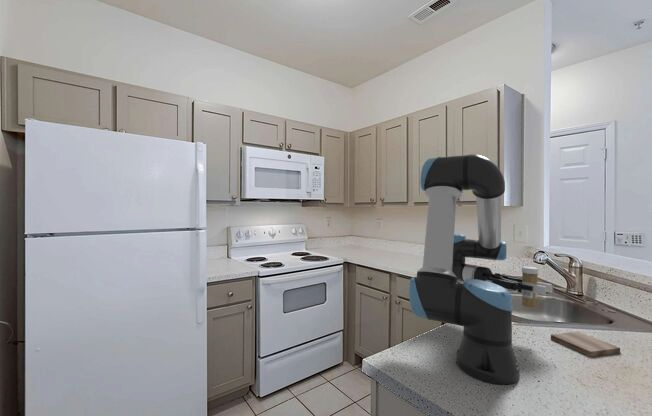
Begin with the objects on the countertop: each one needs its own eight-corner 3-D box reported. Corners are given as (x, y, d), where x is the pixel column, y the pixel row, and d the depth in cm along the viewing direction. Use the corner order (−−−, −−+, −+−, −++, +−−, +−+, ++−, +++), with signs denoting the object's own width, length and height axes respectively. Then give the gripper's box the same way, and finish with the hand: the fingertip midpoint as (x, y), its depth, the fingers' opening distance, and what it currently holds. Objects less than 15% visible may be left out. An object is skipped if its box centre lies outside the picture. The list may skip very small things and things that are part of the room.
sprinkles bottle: (541, 308, 95) (541, 268, 95) (529, 308, 95) (529, 268, 95) (529, 304, 100) (530, 265, 100) (518, 304, 99) (518, 266, 99)
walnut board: (590, 356, 85) (590, 351, 85) (550, 338, 97) (550, 334, 97) (620, 352, 88) (620, 347, 88) (578, 335, 99) (578, 331, 99)
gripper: (489, 282, 117) (558, 297, 98) (465, 288, 108) (537, 305, 88) (489, 264, 117) (559, 275, 98) (465, 268, 108) (537, 281, 88)
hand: (548, 289), depth 93 cm, fingers closed on sprinkles bottle, 4 cm apart
